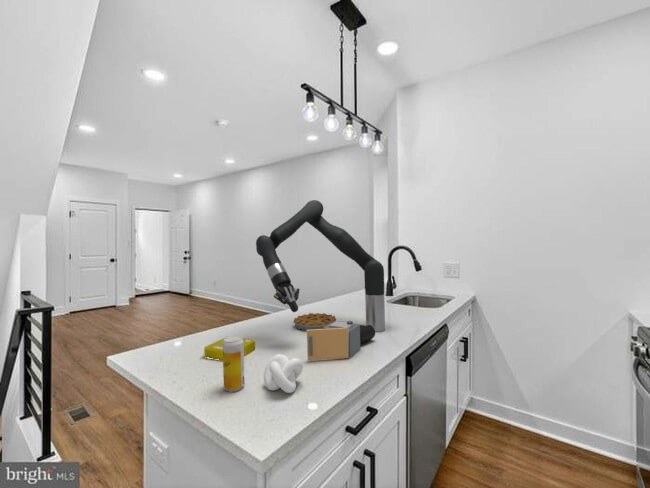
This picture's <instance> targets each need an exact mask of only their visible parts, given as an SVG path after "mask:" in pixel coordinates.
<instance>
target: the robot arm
mask: <svg viewBox="0 0 650 488" xmlns="http://www.w3.org/2000/svg"><path fill="white" fill-rule="evenodd" d="M323 212H324V206H323V203H322V202H321V201H319V200H316V199H315V200H314V199H313V200H309V201H308V202H307V203H306V204H305V205H304V206H303V207H302V208H301V209H300V210H299V211H298V212H297V213H295V214H294V215H293V216H292V217H290V218H289V219H288V220H286V221H285V222H283V223H282V224H280V225H279V226H278V227H276V228H274V229H273V230H272V231H271V233H270V235H264V234H263V235H260V236H258V237H257V239H256V241H255V246H256V247H255V249H256V253H257V255H259V256H261V257H262V262H263V265H264V267H265V270H266V271H267V275H268V277H269V280H270V281H271V283H272V285H273V288H274V289H275V294H274V295H273V298H275V299H276V300H277V301H278V302H280V303H281V304H283V305H288V306H289V309H290V310H291V312H293V313H296V312H298V311H299V306H298V304H297V301H298V300H299V296H300V295H299V294H300V288H298V287H297V288H295V287H294V285H293V284H292V280H291V278H290V276H289V275H288V272H287V270H286V268H285V267H284V265H283V264H282V261H281V260H280V258H279V256H278V254H277V250H276V249H278V247H279V246H280V245H281V244H282V243H283V242H285V241H287V240H288V239H290V238H291V237H292V236H293V235H294V234H295V233H296V232H297V231H298V230H299V229H300V228H301V227H302V226H303V225H304V224H305V223H306V222H307V224H309V225H310V226H312V227H313V228H314V229H315V230H317V231H318V232H320V233H321V235H323V236H324V237H325V238H326V239H327V240H328V241H329V242H330V243H331V244H332V246H334V247H335V248H336V249H337V250H339V251H340V252H341V253H342V254H344V255H345V256H346V257H348V258H349V259H351V260H352V261H353V262H355V263H356V264H357V265H358V266H359V267H360V268H361V269H362V271H364V273H363V274H364V275H363V276H364V294H365V295H364V297H365V298H364V299H365V300H364V301H365V326H367V325H371V326H373V328H374V330H375V333H378V332H384V331H385V330H386V315H385V314H386V313H385V312H386V309H385V307H386V305H385V270H384V266H383V264H382V263H381V262H380V261H379V260H377V259H376V258H375V257H373V256H372V255H371V254H370V253H368V252H367V251H366V250H365V249H364V248H363V247H362V246H361V245H360V244H359V242H358V241H357V240H356V239H355V238H354V237H353V236H352V235H351V234H349V232H348V231H346V230H345V229H344V228H341V227H339V226H337V225H334V224H332V223H330V222H329V221H327V220H326V218H324V217H323Z"/></svg>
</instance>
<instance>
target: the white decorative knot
mask: <svg viewBox="0 0 650 488" xmlns="http://www.w3.org/2000/svg"><path fill="white" fill-rule="evenodd" d="M303 363H304V362H303V361H302V360H301V359H300V358H298V357H294V358H291V359H289V358H288V357H287V356H286V355H284V354H276V355H273V356H272V357H271V358H270V359H269V360H268V362H267V364H266V366H265V368H264V373H263V382H264V385H265V387H266V389H268V390H269V391H273V392H274V391H277V390H279V389H281V390H282V392H284V393H287V394H292V393H294V392H295V391H296V389H297V379H298V378H299V377H300V376H301V374H302V371H303V369H304V364H303Z"/></svg>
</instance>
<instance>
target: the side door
mask: <svg viewBox="0 0 650 488" xmlns="http://www.w3.org/2000/svg"><path fill="white" fill-rule="evenodd" d="M306 341H307V342H306V345H307V346H306V349H307V350H306V351H307V361H322V360H338V359H350V358H349V328H330V329H312V330H307V331H306Z"/></svg>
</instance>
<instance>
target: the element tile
mask: <svg viewBox="0 0 650 488" xmlns="http://www.w3.org/2000/svg"><path fill="white" fill-rule="evenodd" d="M227 337H228V336H226V337H224V338H221V339H219V340H217V341H215V342H212V343H210V344H209V345H208V344H207V345H206V346H204V347H203V348H204V349H203V355H204V356H205V357H209V358H213V359H219V360H223V341H224V339H225V338H227ZM242 340H243V345H244V358H245V357H247V356H248V355H249V354H251V353H252V352H254V351H256V340H255V339H253V338H246V337H245V338H244V337H242ZM205 357H204V358H205Z"/></svg>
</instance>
